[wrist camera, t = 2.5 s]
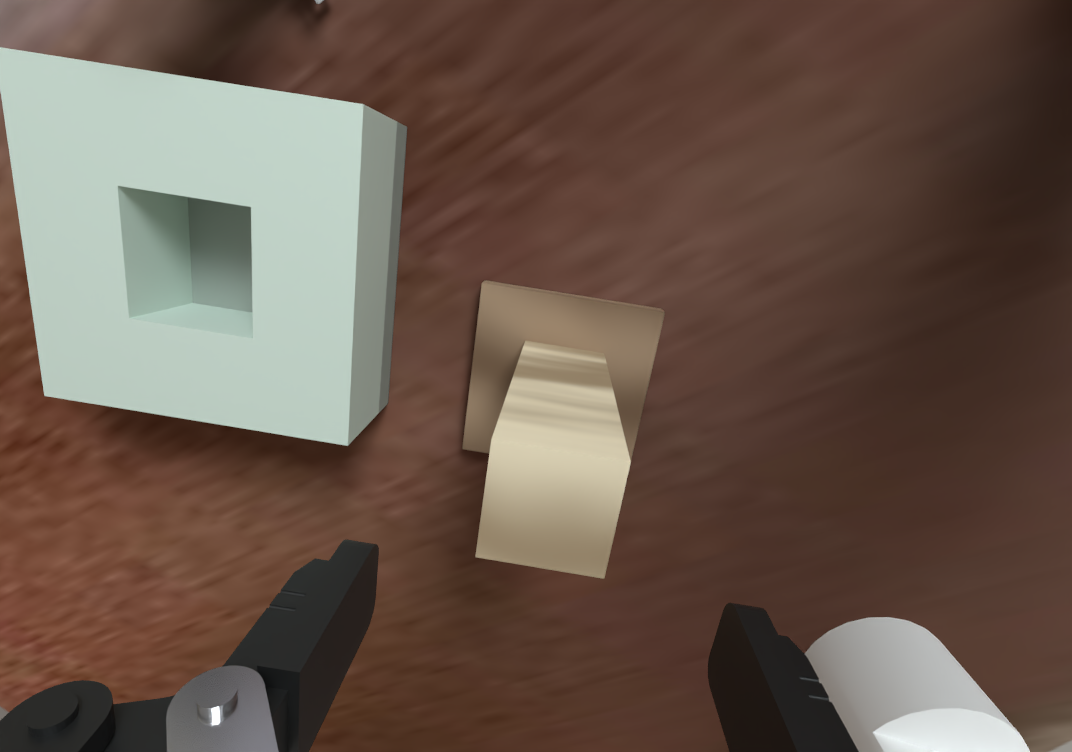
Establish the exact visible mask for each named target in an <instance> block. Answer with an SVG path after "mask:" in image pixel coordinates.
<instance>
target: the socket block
mask: <svg viewBox="0 0 1072 752" xmlns="http://www.w3.org/2000/svg"><path fill="white" fill-rule="evenodd" d="M0 90H1V97H2V104H3V111H4V118H5V125H6V132H7V139H8V146H9V153H10V160H11V167H12V174H13V181H14V188H15V195H16V202H17V208H18V215H19V222H20V229H21V236H22V243H23V250H24V257H25V264H26V271H27V278H28V285H29V292H30V299H31V306H32V313H33V320H34V327H35V333H36V340H37V347H38V354H39V361H40V368H41V375H42V382H43V389H44V396H49V397H55V398H61V399H67V400H73V401H79V402H86V403H92V404H98V405H104V406H110V407H116V408H122V409H128V410H134V411H140V412H146V413H152V414H158V415H164V416H170V417H176V418H182V419H188V420H194V421H201V422H207V423H213V424H219V425H225V426H231V427H237V428H243V429H249V430H255V431H261V432H267V433H273V434H279V435H285V436H291V437H297V438H303V439H309V440H316V441H322V442H328V443H334V444H340V445H346V446H348V445H349V444H350V443H351V442H352V441H353V440H354V439H355V438H356V437H357V436H358V435H359V434H360V432H361V431H362V430H363V429H364V428H365V427H366V426H367V425H368V424H369V423H370V422H371V421H372V420H373V419H374V418H375V417H376V416H377V414H378V413H379V412H380V411H381V410H382V409H383V408H384V407H385V406H386V405H387V404H388V396H389V382H390V367H391V353H392V338H393V324H394V309H395V295H396V280H397V266H398V251H399V237H400V222H401V208H402V194H403V179H404V165H405V150H406V136H407V127H406V126H404V125H402V124H400V123H398V122H396V121H395V120H393V119H391V118H389V117H387V116H385V115H383V114H381V113H379V112H377V111H375V110H373V109H371V108H369V107H368V106H366V105H364V104H358V103H352V102H345V101H339V100H333V99H326V98H320V97H313V96H307V95H301V94H294V93H288V92H281V91H275V90H269V89H262V88H256V87H250V86H243V85H237V84H230V83H224V82H218V81H211V80H205V79H199V78H192V77H186V76H179V75H173V74H167V73H160V72H154V71H147V70H141V69H135V68H128V67H122V66H116V65H109V64H103V63H96V62H90V61H84V60H77V59H71V58H65V57H58V56H52V55H45V54H39V53H33V52H26V51H20V50H14V49H7V48H1V47H0Z"/></svg>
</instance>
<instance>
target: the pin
mask: <svg viewBox="0 0 1072 752" xmlns="http://www.w3.org/2000/svg"><path fill="white" fill-rule="evenodd" d="M630 463H631V461H630V457H629V453H628V449H627V444H626V440H625V436H624V432H623V428H622V424H621V420H620V416H619V412H618V408H617V403H616V399H615V395H614V391H613V387H612V383H611V379H610V375H609V371H608V367H607V363H606V358H605V354H604V353H599V352H593V351H587V350H581V349H575V348H569V347H562V346H556V345H550V344H544V343H538V342H532V341H525V343H524V346H523V349H522V352H521V354H520V357H519V360H518V363H517V366H516V369H515V372H514V375H513V378H512V381H511V384H510V386H509V389H508V392H507V395H506V398H505V401H504V404H503V407H502V410H501V413H500V416H499V419H498V421H497V424H496V427H495V430H494V433H493V436H492V439H491V446H490V453H489V461H488V468H487V475H486V483H485V490H484V497H483V504H482V512H481V519H480V526H479V534H478V541H477V548H476V556H475V557H478V558H484V559H490V560H496V561H502V562H508V563H514V564H520V565H526V566H532V567H538V568H543V569H549V570H555V571H561V572H567V573H573V574H579V575H585V576H591V577H597V578H603V579H604V577H605V573H606V568H607V564H608V560H609V555H610V551H611V547H612V542H613V538H614V533H615V529H616V525H617V520H618V516H619V512H620V507H621V503H622V498H623V494H624V490H625V485H626V481H627V477H628V472H629V468H630Z"/></svg>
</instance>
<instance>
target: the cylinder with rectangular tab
mask: <svg viewBox="0 0 1072 752" xmlns="http://www.w3.org/2000/svg"><path fill="white" fill-rule="evenodd" d="M805 655H806V656H807V658H808V660H809V661H810V663H811V665H812V667H813V669H814V671H815V672H816V674H817V676H818V678H819V683H822V685H823V687H824V689H825V691H826V693H827V694H828V696H829V702H832V703H833V705H834V707H835V709H836V711H837V713H838V714H839V716H840V718H841V720H842V722H843V724H844V725H845V727H846V729H847V731H848V733H849V735H850V736H851V738H852V740H853V742H854V744H855V746H856V747H857V749H858V751H859V752H1030V750H1029V748H1028V747H1027V745H1026V743H1025V742H1024V740H1023V738H1022V737H1021V735H1020V734H1019V732H1018V731H1017V730H1016V729H1015V728H1014V727H1013V725H1012V724H1011V723H1010V722H1009V721H1008V720H1007V718H1006V717H1005V716H1004V715H1003V714H1002V713H1001V711H1000V710H999V709H998V708H997V707H996V706H995V705H994V703H993V702H992V701H991V700H990V699H989V698H988V696H987V695H986V694H985V693H984V692H983V691H982V689H981V688H980V687H979V686H978V685H977V684H976V682H975V681H974V680H973V679H972V678H971V677H970V675H969V674H968V673H967V672H966V671H965V670H964V669H963V667H962V666H961V665H960V664H959V663H958V662H957V660H956V659H955V658H954V657H953V656H952V655H951V653H950V652H949V651H948V650H947V649H946V648H945V646H944V645H943V644H942V643H941V642H940V641H939V639H937V638H936V637H935V636H934V635H933V634H931V633H930V632H929V631H928V630H927V629H926V628H924V627H921V626H919V625H917V624H915V623H912V622H910V621H907V620H902V619H896V618H891V617H874V618H864V619H860V620H856V621H851V622H847V623H845V624H843V625H841V626H839V627H836V628H834V629H832V630H830V631H828V632H827V633H826V634H824V635H823V636H822V637H820V638H819V639H818V640H816V641H815V642H814V643H813V644H812V645H811V646H810V648H809V649H808V650H807V651H806V653H805Z"/></svg>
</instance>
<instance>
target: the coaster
mask: <svg viewBox="0 0 1072 752" xmlns="http://www.w3.org/2000/svg"><path fill="white" fill-rule="evenodd" d="M664 314H665V312H664V311H663V310H662V309H660V308H654V307H648V306H642V305H635V304H629V303H623V302H617V301H611V300H604V299H598V298H592V297H586V296H579V295H573V294H567V293H561V292H554V291H548V290H542V289H536V288H530V287H523V286H517V285H511V284H505V283H498V282H492V281H486V280H485V281H484V282H482V287H481V295H480V304H479V312H478V321H477V329H476V337H475V346H474V354H473V363H472V371H471V380H470V388H469V396H468V405H467V413H466V422H465V430H464V438H463V447H462V449H465V450H471V451H477V452H483V453H490V446H491V439H492V436H493V433H494V430H495V427H496V424H497V421H498V419H499V416H500V413H501V410H502V407H503V404H504V401H505V398H506V395H507V392H508V389H509V386H510V384H511V381H512V378H513V375H514V372H515V369H516V366H517V363H518V360H519V357H520V354H521V352H522V349H523V346H524V343H525V341H532V342H538V343H544V344H550V345H556V346H562V347H569V348H575V349H581V350H587V351H593V352H599V353H604V354H605V358H606V363H607V367H608V371H609V375H610V379H611V383H612V387H613V391H614V395H615V399H616V403H617V408H618V412H619V416H620V420H621V424H622V428H623V432H624V436H625V440H626V444H627V449H628V453H629V457H630V461H631V459H632V454H633V450H634V446H635V441H636V437H637V432H638V428H639V424H640V419H641V415H642V411H643V406H644V402H645V397H646V393H647V389H648V384H649V380H650V376H651V371H652V367H653V362H654V358H655V354H656V349H657V345H658V341H659V336H660V332H661V327H662V323H663V319H664Z"/></svg>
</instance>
